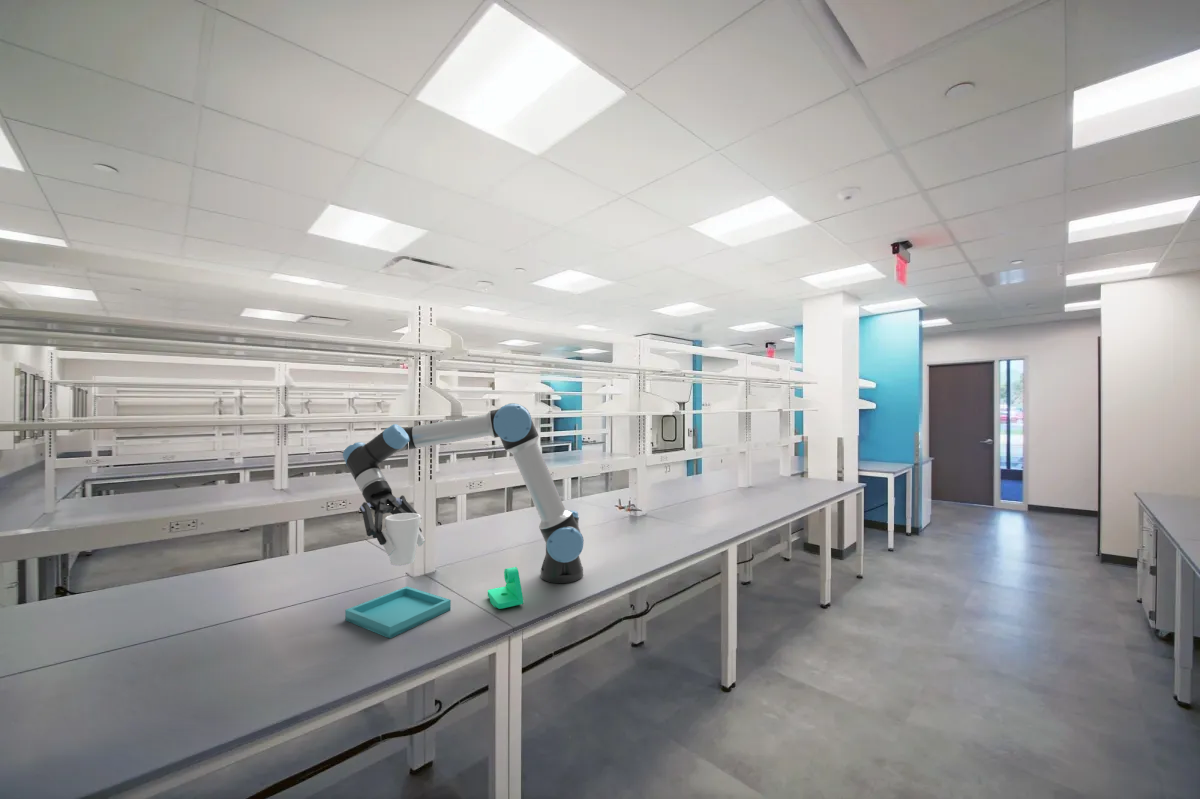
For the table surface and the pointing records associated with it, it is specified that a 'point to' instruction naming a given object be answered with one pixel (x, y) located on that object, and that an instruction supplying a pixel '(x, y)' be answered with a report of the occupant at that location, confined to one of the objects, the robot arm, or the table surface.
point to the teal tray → (397, 611)
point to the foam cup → (403, 536)
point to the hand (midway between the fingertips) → (407, 547)
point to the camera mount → (507, 591)
